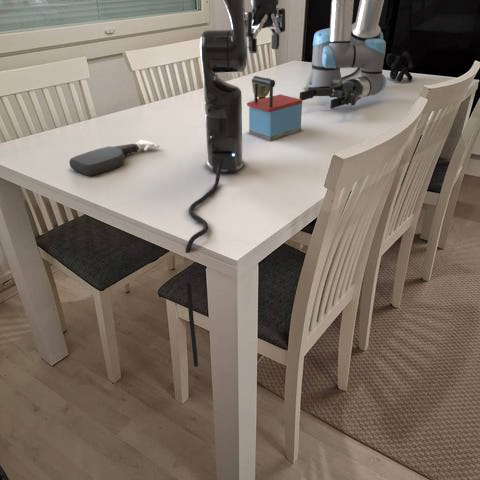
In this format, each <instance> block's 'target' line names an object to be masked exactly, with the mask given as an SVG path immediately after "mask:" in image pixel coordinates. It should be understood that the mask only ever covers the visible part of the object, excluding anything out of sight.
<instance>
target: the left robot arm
mask: <svg viewBox="0 0 480 480" xmlns="http://www.w3.org/2000/svg"><path fill="white" fill-rule="evenodd" d="M221 1H222V3H223V5H224V7H225V10H226V12H227V14H228V17H229V22H230V25H231V29H209V30H204V31H203V32H202V33H201V35H200V39H199V55H200V56H199V57H200V63H201V65H200V66H201V73H202V83H203V84H202V85H203V98H204V100H203V101H204V116H205V117H204V118H205V133H206V134H205V135H206V151H207V152H206V153H207V168H208V169H209V170H211V172H212V173H216V175H215V180H214V184H213V185H212V188H211V189H209V191H207V192H206V193H205V194H204V195H203V196H202V197H200V198H199V199H197V200H196V201H194V202H193V203H192V204H190V206H189V208H188V214H189V215H190V217H191V218H193V219H194V220H195V221H197V222H199V223H201V224H202V227H203V228H202V229H201V230H199V231H198V232H195V233H194V234H193V235H192V236H191V237H190V238H189V239H188V241H187V243H186V247H185V252H184V253H186V254H189V253H190V252H191V249H192V246H193V243H194V242H195V241H196V240H197V239H199V238H200V237H202V236H204V235H205V234H206V233H207V232H208V230H209V224H208V222H207V221H206V220H205V219H203V218H202V217H201V216H200V215H198V214H196V213H195V212H194V209H195V208H196V207H197V206H199V205H200V204H202V203H203V202H204V201H206V200H207V199H209V197H210V196H211V195H212V194H214V193H215V191H216V190H217V189H218V187H219V183H220V179H221V173H237V171H239V170H240V169H242V168H243V166H244V159H243V114H242V113H243V109H242V108H243V106H242V105H243V104H242V103H243V102H242V101H243V100H242V99H243V98H242V96H243V95H242V90H241V89H240V87H239V86H237V85H234V84H232V83H228V82H226V81H225V80H223V79H222V78H221V77H219V75H218V74H219V73H220V74H225V73H226V74H230V73H231V74H237V73H243V72H244V71H245V70H246V68H247V63H248V51H249V53H250V54H257V49H258V47H257V45H258V43H257V42H258V39H257V37H258V34H259V33H260V32H261V31H262V29H266V28H268V29H269V30H270V32H271V42H270V43H271V45H270V46H271V49H272V50H278V49H279V47H280V35H281V34H282V33H284V32H286V9H285V8H282V7H281V8H280V7H277V6H278V5H279V1H280V0H250V5H251V7H252V10H251V11H246V8H245V0H221ZM247 40H248V41H247ZM186 296H187V308H188V309H187V310H188V320H189V321H188V322H189V330H190V339H191V348H192V359H193V366H194V367H195V368H197V367H198V366H199V359H198V358H199V357H198V348H197V338H196V329H195V328H196V327H195V318H194V307H193V306H194V305H193V290H192V283H191V282H188V281H186Z"/></svg>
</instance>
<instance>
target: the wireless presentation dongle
mask: <svg viewBox="0 0 480 480" xmlns="http://www.w3.org/2000/svg"><path fill="white" fill-rule="evenodd" d="M159 148H160V145H159V144H158V143H155V142H151V141H148V140H144V139H139V140H138V141H137V142H135V143H129V144H128V143H126V144H122V145H113V146H105V147H100V148H97V149H94V150H90V151H87V152H83V153H81V154H78V155H74V156H73V157H70V159H69V161H68V162H69V167H70V168H71V169H72V170H74V171H75V172H78V173H81V174H83V175H85V176H89V177H90V176H91V177H92V176H95V175H99V174H102V173H105V172H107V171H110V170H113V169H116V168H118V167H120V166H122V165H123V164H124V163H125V158H126V156H127V155H131V154H133V153H138V151H140V150H143V151H144V152H146V151H147V150H149V149H159Z"/></svg>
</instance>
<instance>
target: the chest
mask: <svg viewBox="0 0 480 480" xmlns="http://www.w3.org/2000/svg"><path fill="white" fill-rule="evenodd" d="M302 113H303V102H302V103H300V104H296V105H293V106H289V107H285V108H282V109H278V110H275V111H271V112H267V111H263V110H260V109H256V108H253V107H250V106H248V134H250V135H253V136H256V137H259V138H262V139H265V140H267V141H274V140H276V139H280V138H282V137H286V136H289V135H291V134H292V135H293V134H294V133H297V132H300V131H302V115H303V114H302Z"/></svg>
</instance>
